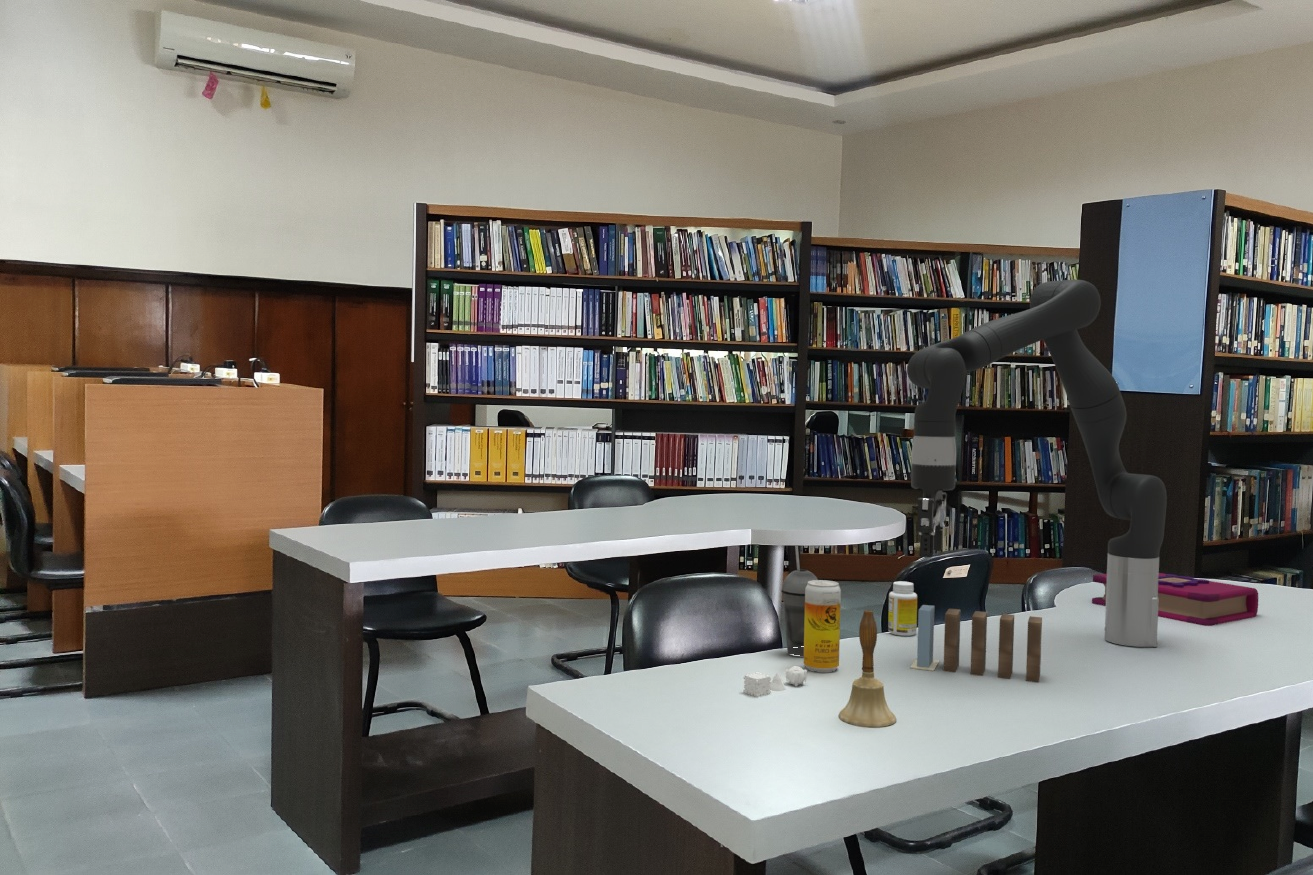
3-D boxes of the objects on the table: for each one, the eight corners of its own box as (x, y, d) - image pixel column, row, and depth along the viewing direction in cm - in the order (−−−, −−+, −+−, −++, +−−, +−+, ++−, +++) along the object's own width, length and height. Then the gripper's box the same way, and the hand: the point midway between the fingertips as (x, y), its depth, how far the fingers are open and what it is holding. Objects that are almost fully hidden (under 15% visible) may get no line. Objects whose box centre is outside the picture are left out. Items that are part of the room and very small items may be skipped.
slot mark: (939, 661, 182) (939, 660, 182) (933, 670, 175) (933, 669, 175) (916, 659, 183) (916, 657, 183) (910, 668, 177) (910, 667, 177)
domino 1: (932, 661, 181) (934, 605, 181) (928, 667, 176) (930, 610, 176) (921, 659, 182) (923, 604, 181) (917, 666, 177) (918, 609, 177)
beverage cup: (810, 661, 180) (813, 549, 179) (773, 655, 184) (775, 546, 183) (826, 653, 186) (828, 545, 186) (789, 647, 190) (792, 541, 189)
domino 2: (958, 665, 179) (960, 609, 179) (955, 672, 175) (957, 614, 174) (947, 664, 180) (948, 608, 180) (943, 670, 176) (945, 613, 175)
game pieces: (757, 699, 158) (757, 679, 158) (742, 694, 160) (743, 674, 160) (810, 686, 165) (810, 666, 165) (795, 681, 168) (796, 662, 168)
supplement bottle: (922, 634, 203) (923, 583, 203) (904, 638, 200) (906, 586, 199) (899, 629, 207) (900, 579, 207) (882, 632, 204) (883, 582, 203)
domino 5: (1040, 675, 174) (1042, 617, 174) (1038, 682, 169) (1040, 623, 169) (1027, 673, 175) (1029, 616, 174) (1025, 680, 170) (1027, 621, 170)
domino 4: (1012, 671, 176) (1014, 614, 175) (1010, 678, 171) (1012, 620, 171) (1000, 670, 177) (1002, 613, 176) (997, 677, 172) (999, 619, 172)
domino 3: (985, 668, 178) (987, 612, 177) (982, 675, 173) (984, 617, 173) (973, 667, 178) (975, 611, 178) (970, 674, 174) (972, 616, 173)
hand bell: (860, 730, 143) (863, 618, 142) (827, 713, 150) (830, 606, 150) (908, 723, 146) (911, 614, 146) (873, 707, 154) (876, 603, 153)
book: (1140, 596, 250) (1141, 566, 250) (1258, 618, 227) (1259, 584, 226) (1088, 604, 239) (1090, 572, 239) (1207, 628, 215) (1208, 593, 215)
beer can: (817, 674, 171) (819, 587, 171) (796, 666, 177) (798, 581, 176) (846, 671, 174) (848, 584, 174) (824, 662, 180) (826, 578, 179)
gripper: (948, 465, 170) (946, 561, 170) (962, 460, 183) (959, 550, 183) (903, 463, 173) (901, 557, 174) (919, 459, 186) (917, 546, 187)
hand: (931, 553), depth 178 cm, fingers open, 8 cm apart
